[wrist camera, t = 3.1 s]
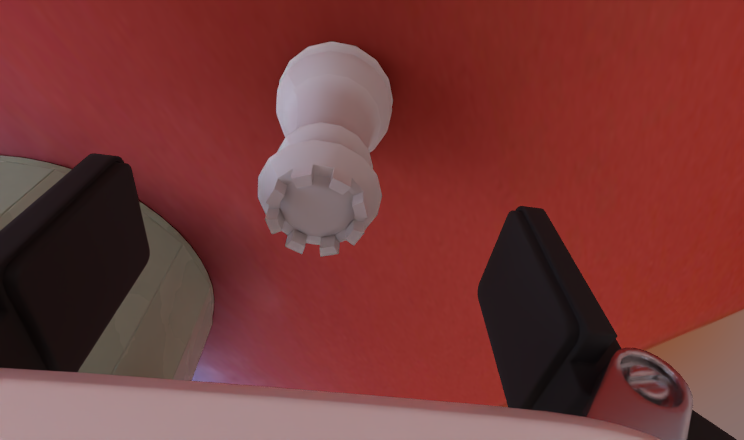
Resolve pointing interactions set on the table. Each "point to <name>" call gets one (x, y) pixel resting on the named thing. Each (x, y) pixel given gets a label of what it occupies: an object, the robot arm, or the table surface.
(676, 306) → the table surface
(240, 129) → the table surface
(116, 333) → the pale green cooking pot
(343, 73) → the rook chess piece
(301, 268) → the table surface
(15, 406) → the robot arm
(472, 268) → the table surface
